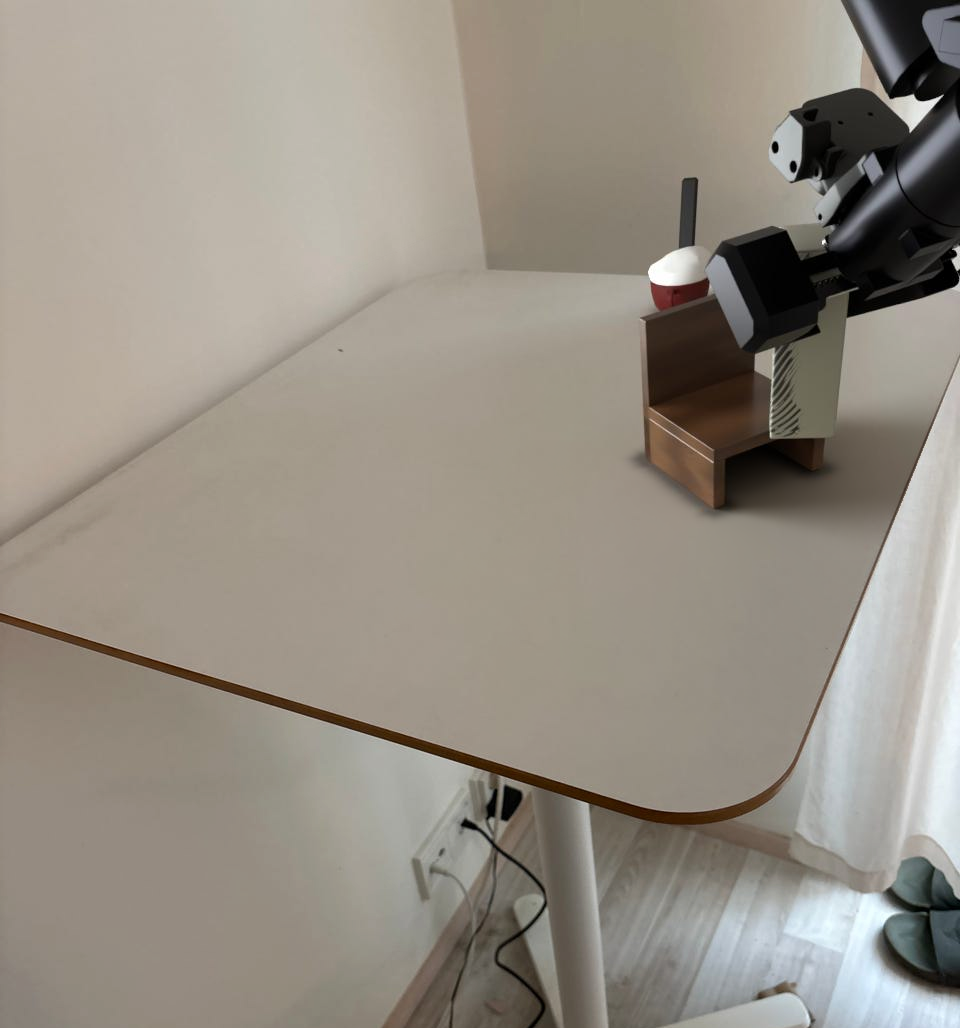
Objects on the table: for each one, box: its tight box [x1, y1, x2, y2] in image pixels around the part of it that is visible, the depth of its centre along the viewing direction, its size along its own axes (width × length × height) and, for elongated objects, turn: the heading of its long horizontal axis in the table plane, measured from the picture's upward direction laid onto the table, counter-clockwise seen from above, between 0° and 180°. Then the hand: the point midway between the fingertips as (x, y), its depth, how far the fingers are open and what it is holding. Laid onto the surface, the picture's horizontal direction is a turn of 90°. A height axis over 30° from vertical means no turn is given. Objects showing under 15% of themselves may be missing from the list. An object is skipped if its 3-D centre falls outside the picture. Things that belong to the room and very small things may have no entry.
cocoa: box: [647, 176, 712, 312], centre depth 99 cm, size 10×6×12 cm, turn 135°
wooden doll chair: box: [638, 293, 826, 509], centre depth 73 cm, size 10×10×12 cm
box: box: [770, 222, 849, 439], centre depth 62 cm, size 5×4×13 cm
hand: (795, 326), depth 63 cm, fingers closed on box, 6 cm apart
